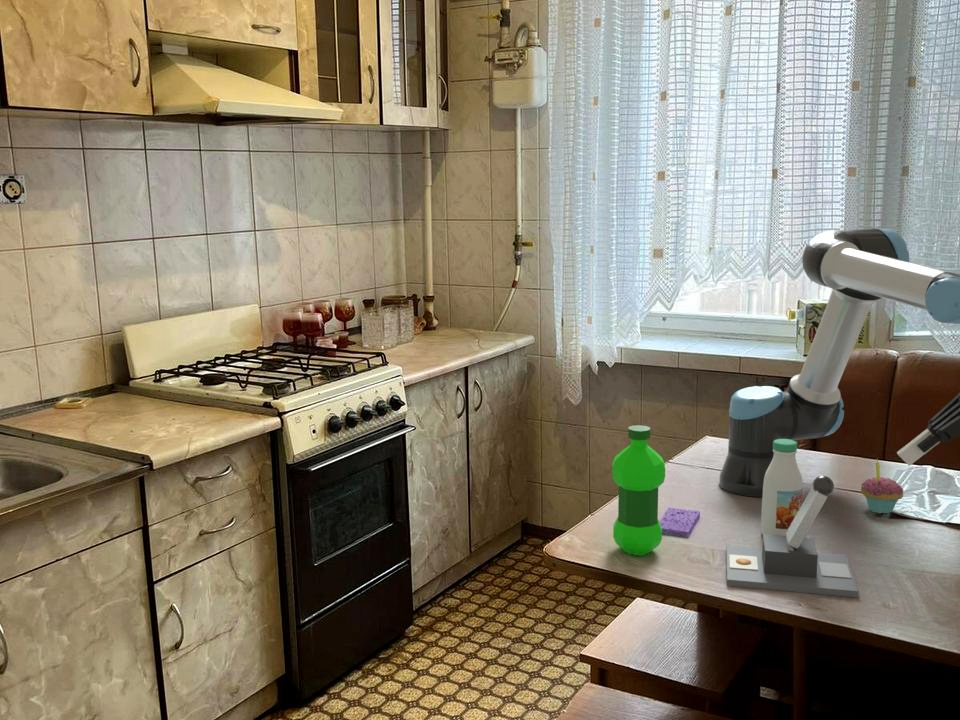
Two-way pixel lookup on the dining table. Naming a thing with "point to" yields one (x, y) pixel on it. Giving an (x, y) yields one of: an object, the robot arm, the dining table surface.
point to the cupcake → (881, 493)
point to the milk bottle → (781, 489)
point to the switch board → (790, 580)
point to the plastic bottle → (638, 494)
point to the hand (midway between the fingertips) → (903, 459)
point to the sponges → (679, 521)
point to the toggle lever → (809, 510)
